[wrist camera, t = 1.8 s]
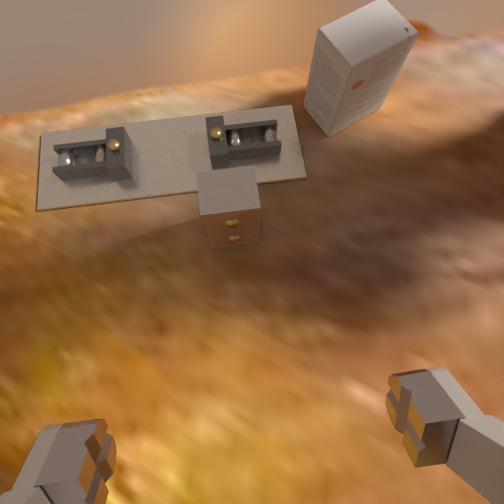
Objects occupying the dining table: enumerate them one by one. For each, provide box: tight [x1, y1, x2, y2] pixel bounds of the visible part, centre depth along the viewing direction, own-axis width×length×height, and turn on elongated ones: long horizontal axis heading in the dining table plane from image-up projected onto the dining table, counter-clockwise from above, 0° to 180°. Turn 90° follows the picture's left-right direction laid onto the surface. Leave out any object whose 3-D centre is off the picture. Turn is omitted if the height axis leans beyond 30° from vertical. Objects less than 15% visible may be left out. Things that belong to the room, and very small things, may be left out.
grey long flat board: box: [37, 105, 307, 211], centre depth 38 cm, size 30×10×4 cm, turn 98°
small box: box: [303, 0, 418, 137], centre depth 36 cm, size 8×6×10 cm
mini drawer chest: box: [196, 165, 261, 249], centre depth 32 cm, size 5×4×9 cm
